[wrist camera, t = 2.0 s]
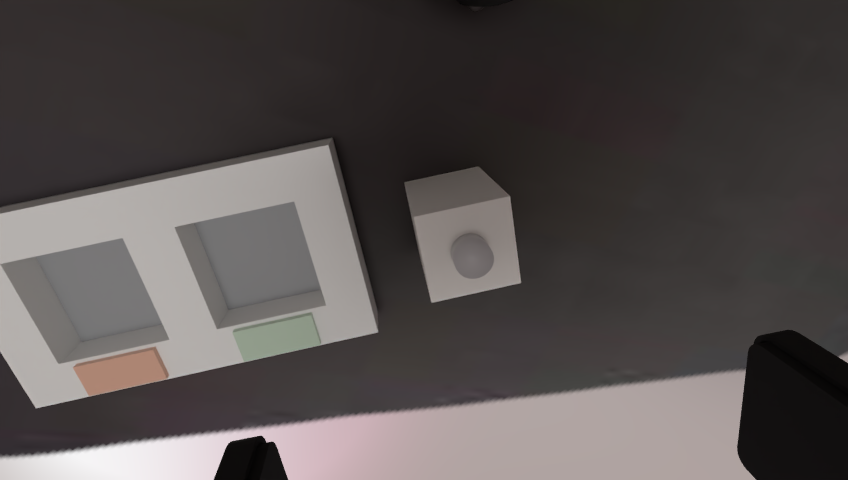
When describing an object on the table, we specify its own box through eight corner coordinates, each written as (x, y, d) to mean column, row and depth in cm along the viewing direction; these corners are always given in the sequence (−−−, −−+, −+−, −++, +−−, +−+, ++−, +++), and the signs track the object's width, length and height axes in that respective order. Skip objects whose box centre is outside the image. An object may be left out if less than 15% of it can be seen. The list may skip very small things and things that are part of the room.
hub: (332, 137, 23) (327, 145, 21) (377, 310, 27) (378, 335, 24) (-32, 213, 23) (-83, 232, 20) (64, 379, 26) (31, 412, 24)
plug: (478, 166, 24) (517, 202, 18) (488, 236, 26) (528, 293, 19) (403, 182, 24) (415, 224, 18) (418, 251, 26) (434, 314, 19)
